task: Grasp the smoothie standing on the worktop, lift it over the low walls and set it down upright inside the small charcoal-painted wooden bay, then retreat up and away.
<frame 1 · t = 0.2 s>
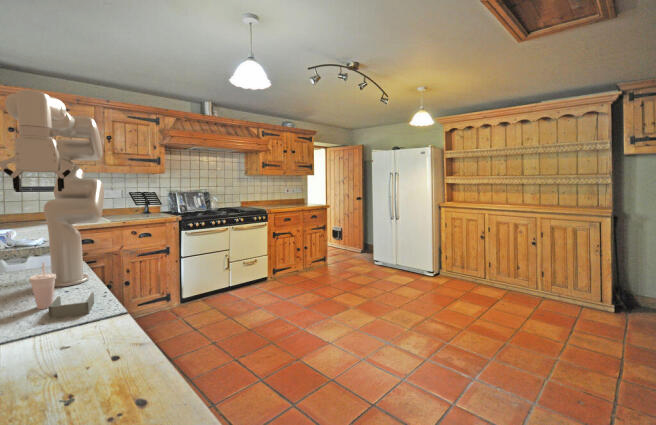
hand: (40, 191, 102), 36 cm above the worktop, tool pointing down, fingers open, 9 cm apart
bay: (73, 310, 102), on the worktop
smoothie: (45, 307, 105), on the worktop
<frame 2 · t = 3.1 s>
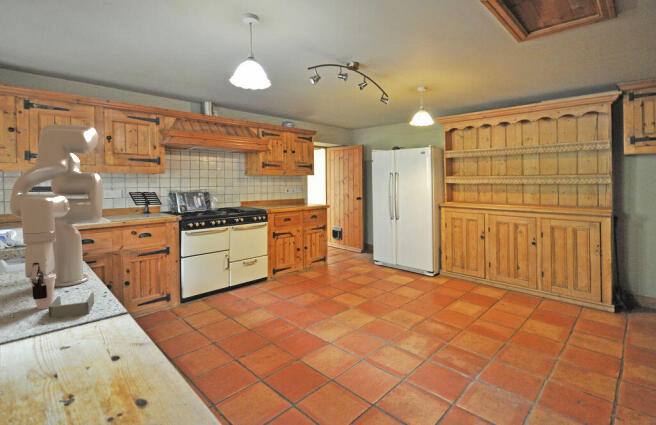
hand: (44, 294, 104), 4 cm above the worktop, tool pointing down, fingers closed on smoothie, 6 cm apart
smoothie: (45, 307, 105), on the worktop, touching gripper
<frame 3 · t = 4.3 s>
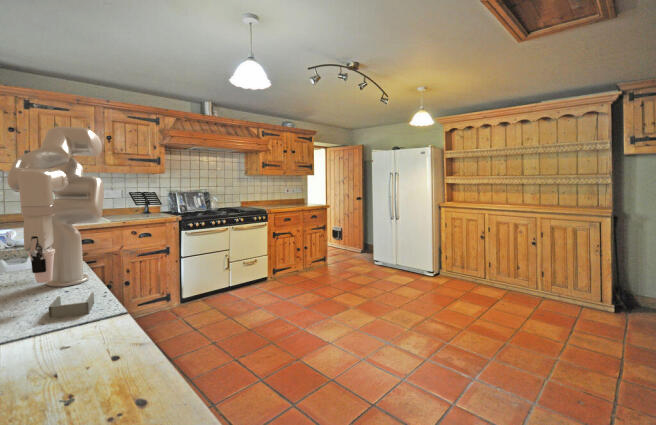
hand: (43, 268, 104), 12 cm above the worktop, tool pointing down, fingers closed on smoothie, 6 cm apart
smoothie: (44, 281, 105), point 8 cm above the worktop, touching gripper
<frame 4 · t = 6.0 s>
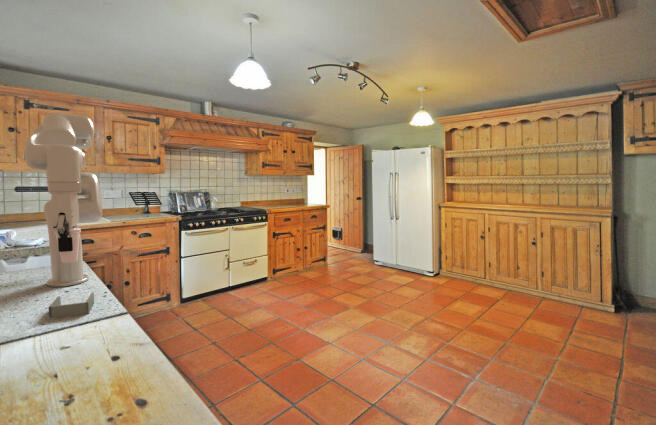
hand: (69, 248, 100), 19 cm above the worktop, tool pointing down, fingers closed on smoothie, 6 cm apart
smoothie: (69, 261, 100), point 15 cm above the worktop, touching gripper
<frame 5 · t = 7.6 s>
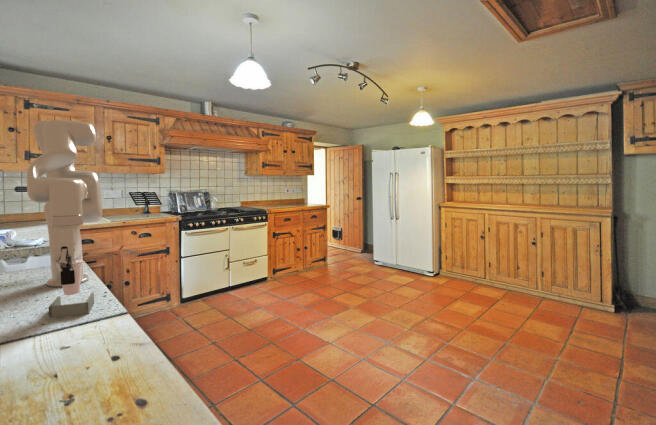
hand: (71, 280, 101), 10 cm above the worktop, tool pointing down, fingers closed on smoothie, 6 cm apart
smoothie: (72, 293, 101), point 5 cm above the worktop, touching gripper
when the fingers open (6 cm above the worktop, at t = 8.9 s): smoothie drops 1 cm, resting on bay.
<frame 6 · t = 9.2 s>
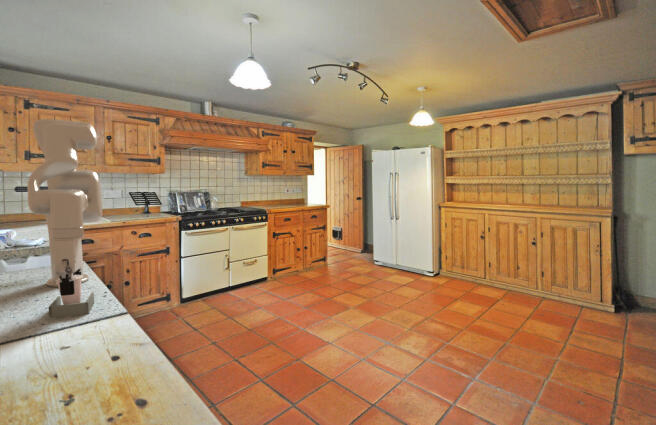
hand: (71, 289, 101), 7 cm above the worktop, tool pointing down, fingers open, 9 cm apart
smoothie: (72, 309, 102), resting on bay
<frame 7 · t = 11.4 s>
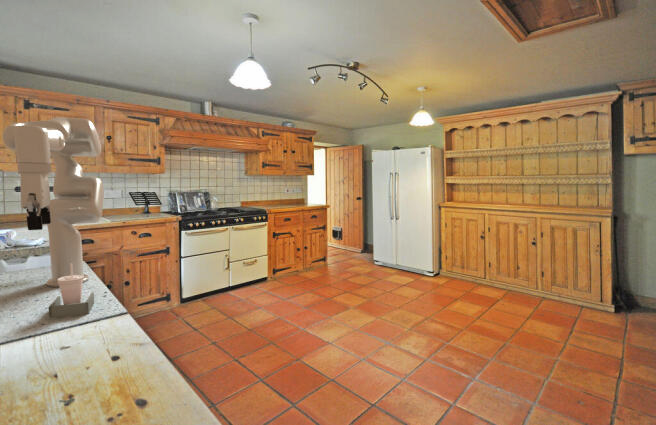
hand: (40, 226, 101), 25 cm above the worktop, tool pointing down, fingers open, 9 cm apart
nothing on the worktop moved.
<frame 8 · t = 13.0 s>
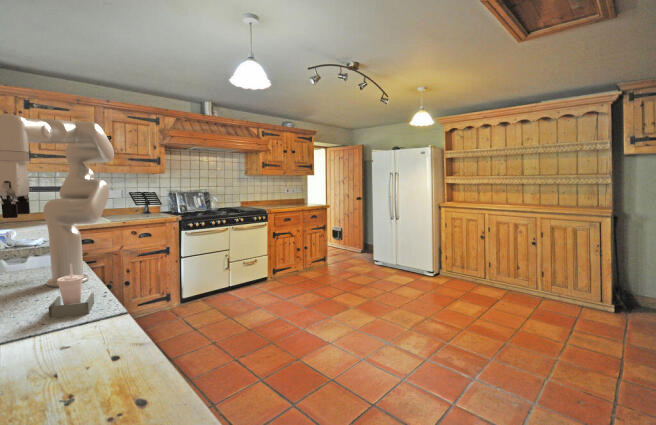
hand: (17, 215, 101), 28 cm above the worktop, tool pointing down, fingers open, 9 cm apart
nothing on the worktop moved.
at the end: smoothie 0.1 cm off-centre on the bay, point 0.3 cm above the bay's base; smoothie tilted 1°; the gripper is holding nothing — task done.
